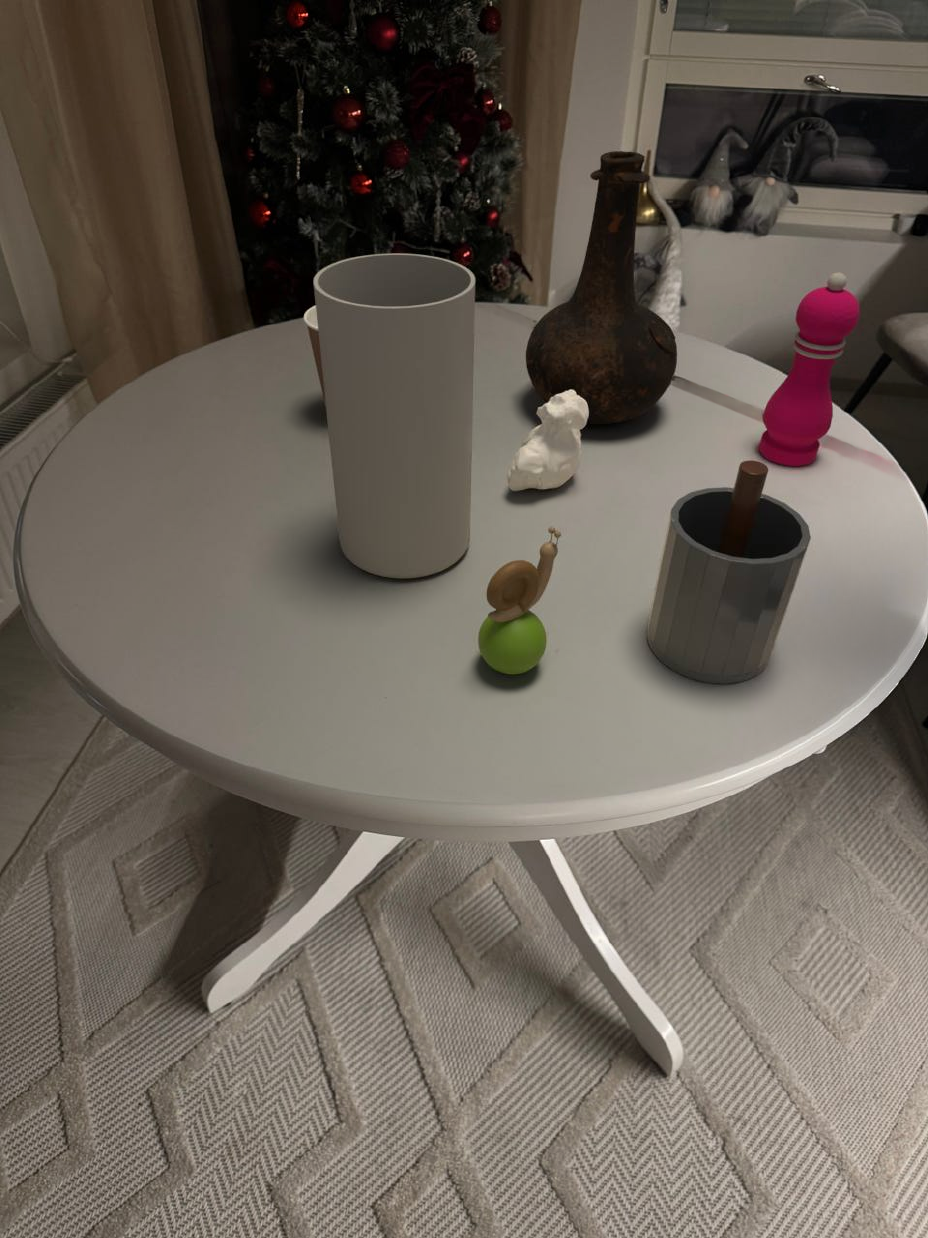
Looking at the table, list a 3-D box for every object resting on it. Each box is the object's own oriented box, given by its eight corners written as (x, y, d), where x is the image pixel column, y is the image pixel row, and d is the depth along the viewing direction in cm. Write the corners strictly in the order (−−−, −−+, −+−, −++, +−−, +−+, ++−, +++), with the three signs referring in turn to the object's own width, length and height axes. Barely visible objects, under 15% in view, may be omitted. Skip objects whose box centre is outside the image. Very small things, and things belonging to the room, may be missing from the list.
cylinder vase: (496, 544, 82) (508, 280, 65) (398, 600, 75) (385, 321, 59) (410, 494, 88) (402, 243, 72) (314, 541, 82) (281, 276, 65)
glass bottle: (632, 457, 95) (677, 185, 77) (495, 416, 102) (506, 158, 84) (688, 398, 107) (738, 150, 88) (561, 365, 114) (584, 129, 96)
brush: (702, 611, 73) (744, 445, 63) (746, 636, 71) (797, 468, 60) (671, 633, 71) (710, 465, 60) (715, 660, 68) (763, 490, 58)
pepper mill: (811, 475, 92) (871, 290, 80) (746, 458, 95) (793, 276, 82) (825, 447, 97) (884, 269, 84) (763, 432, 100) (810, 256, 87)
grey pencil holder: (693, 589, 77) (721, 473, 69) (793, 645, 71) (836, 526, 63) (622, 638, 71) (643, 519, 64) (723, 703, 66) (761, 581, 58)
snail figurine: (566, 666, 69) (582, 545, 61) (504, 698, 66) (512, 575, 58) (525, 630, 72) (534, 511, 64) (464, 659, 69) (466, 538, 61)
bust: (520, 523, 88) (589, 466, 80) (472, 468, 88) (536, 405, 79) (570, 473, 96) (638, 417, 88) (526, 423, 96) (590, 361, 87)
